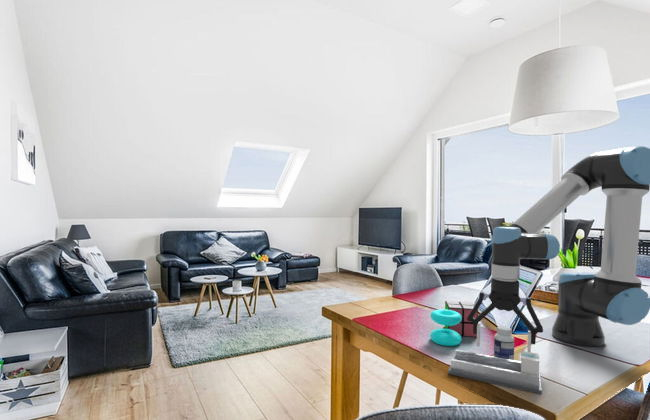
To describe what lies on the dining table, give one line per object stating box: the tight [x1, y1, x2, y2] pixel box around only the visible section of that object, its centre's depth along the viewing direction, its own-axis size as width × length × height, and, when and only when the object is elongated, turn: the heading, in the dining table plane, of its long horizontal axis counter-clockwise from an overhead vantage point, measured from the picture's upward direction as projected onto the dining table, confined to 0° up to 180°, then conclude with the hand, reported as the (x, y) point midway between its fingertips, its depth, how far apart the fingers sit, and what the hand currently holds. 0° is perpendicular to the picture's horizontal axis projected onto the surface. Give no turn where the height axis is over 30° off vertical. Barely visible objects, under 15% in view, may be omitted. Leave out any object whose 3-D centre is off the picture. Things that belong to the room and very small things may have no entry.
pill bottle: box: [493, 325, 515, 360], centre depth 110 cm, size 5×5×10 cm
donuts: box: [429, 308, 462, 347], centre depth 124 cm, size 10×10×10 cm
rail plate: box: [447, 349, 543, 395], centre depth 100 cm, size 22×11×4 cm, turn 62°
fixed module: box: [520, 350, 540, 376], centre depth 96 cm, size 4×6×6 cm
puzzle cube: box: [444, 300, 479, 338], centre depth 134 cm, size 10×10×10 cm
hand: (502, 349), depth 109 cm, fingers open, 13 cm apart
